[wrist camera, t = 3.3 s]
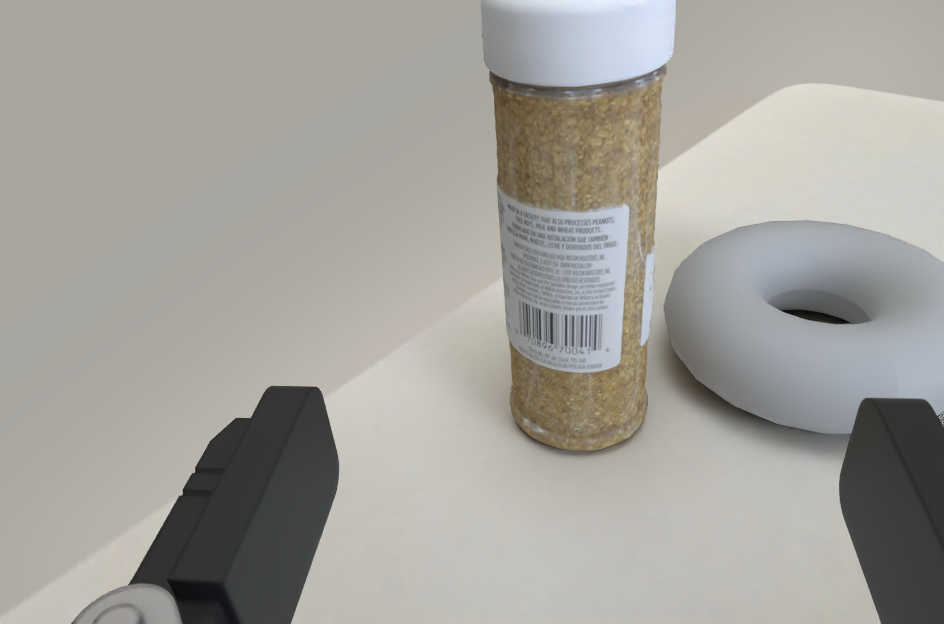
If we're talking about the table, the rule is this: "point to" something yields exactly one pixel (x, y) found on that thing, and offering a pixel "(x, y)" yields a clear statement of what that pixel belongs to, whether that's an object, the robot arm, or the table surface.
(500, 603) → the table surface
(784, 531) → the table surface
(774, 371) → the donut
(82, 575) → the table surface
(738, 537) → the table surface
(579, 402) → the sprinkles bottle
